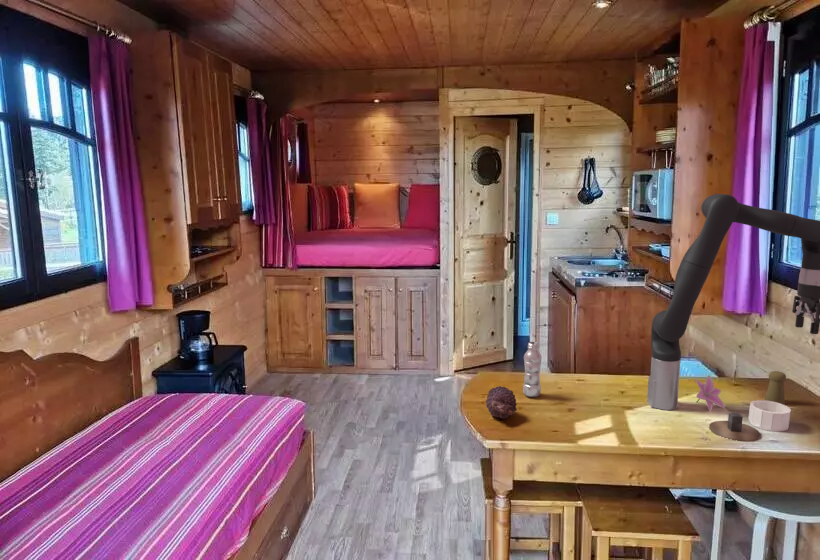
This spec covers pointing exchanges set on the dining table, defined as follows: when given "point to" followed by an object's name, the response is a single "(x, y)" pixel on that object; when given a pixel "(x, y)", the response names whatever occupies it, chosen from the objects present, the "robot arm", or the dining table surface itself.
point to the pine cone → (501, 402)
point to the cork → (776, 387)
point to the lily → (709, 393)
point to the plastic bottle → (532, 370)
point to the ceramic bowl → (769, 415)
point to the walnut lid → (734, 429)
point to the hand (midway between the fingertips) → (806, 330)
